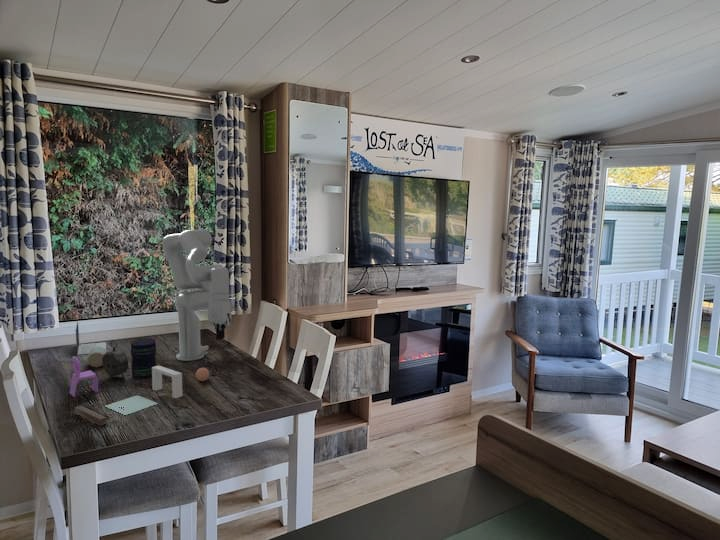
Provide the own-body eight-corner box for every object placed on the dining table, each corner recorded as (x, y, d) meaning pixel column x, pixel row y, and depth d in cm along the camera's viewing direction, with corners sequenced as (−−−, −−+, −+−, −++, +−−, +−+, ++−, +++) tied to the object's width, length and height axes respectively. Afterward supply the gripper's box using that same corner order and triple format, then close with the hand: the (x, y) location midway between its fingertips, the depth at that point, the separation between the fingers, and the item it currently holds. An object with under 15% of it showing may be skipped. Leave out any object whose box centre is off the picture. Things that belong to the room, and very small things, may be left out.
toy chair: (99, 393, 195) (98, 355, 193) (74, 399, 189) (72, 360, 187) (92, 387, 201) (90, 350, 199) (68, 392, 195) (66, 355, 192)
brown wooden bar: (81, 412, 177) (80, 405, 177) (106, 424, 168) (106, 417, 168) (75, 414, 175) (74, 407, 175) (100, 426, 167) (100, 419, 166)
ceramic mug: (87, 369, 221) (87, 352, 220) (89, 363, 229) (88, 346, 228) (114, 366, 225) (114, 350, 224) (115, 361, 233) (114, 345, 232)
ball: (203, 377, 215) (203, 365, 214) (212, 380, 212) (212, 367, 211) (192, 381, 210) (192, 368, 209) (201, 384, 207) (201, 371, 206)
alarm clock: (129, 378, 211) (128, 340, 209) (118, 382, 207) (117, 343, 204) (111, 373, 216) (109, 337, 214) (100, 377, 211) (98, 340, 209)
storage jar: (151, 370, 222) (150, 337, 220) (160, 376, 215) (159, 342, 213) (128, 375, 215) (126, 341, 213) (137, 381, 208) (135, 346, 206)
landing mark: (137, 395, 193) (137, 395, 193) (158, 403, 186) (158, 403, 186) (104, 406, 183) (104, 406, 182) (125, 415, 175) (125, 415, 175)
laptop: (106, 353, 245) (105, 327, 243) (76, 356, 239) (75, 329, 238) (106, 343, 261) (104, 318, 259) (78, 346, 255) (77, 320, 254)
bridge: (159, 387, 202) (158, 365, 201) (182, 396, 194) (181, 373, 193) (152, 389, 199) (151, 367, 198) (175, 398, 192) (175, 375, 190)
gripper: (200, 295, 215) (201, 337, 217) (224, 299, 207) (225, 343, 209) (214, 293, 221) (215, 334, 223) (238, 297, 213) (239, 339, 215)
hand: (220, 338), depth 216 cm, fingers closed
